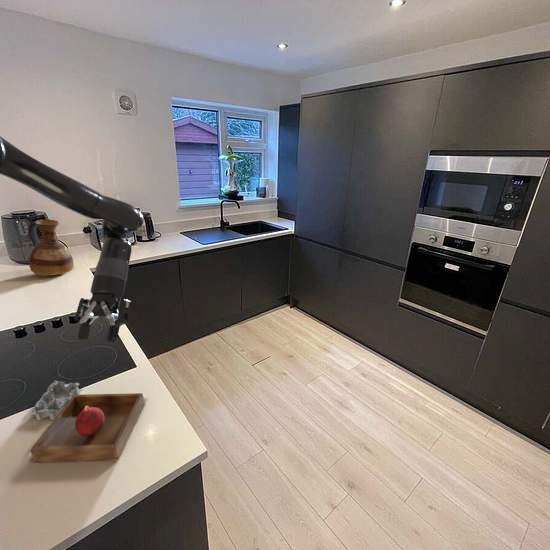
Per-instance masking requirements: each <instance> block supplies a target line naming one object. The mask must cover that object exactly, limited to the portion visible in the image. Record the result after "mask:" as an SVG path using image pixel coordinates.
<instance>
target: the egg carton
mask: <svg viewBox="0 0 550 550" xmlns="http://www.w3.org/2000/svg"><path fill="white" fill-rule="evenodd" d="M80 384H81V383H80V382H74V383H73V382H69V383H66V382H64V381H59V380H56V379H55V380H53V382H51V384H50V385H48V387H47V389H46V391H45V392H44V393H43V394H42V396H41V397H40V398H39V400H37V402H36V403H35V405H34V406H33V408H32V410H30V412H29V414H32V415H34V417H35V418H36V421H42V420H43V419H45V418H48V417H49V418H50V420H51V421H54V419H55V418H56V417H57V416H58V414H59V413H60V412H61V410H62V409H63V408H64V407H65V405H66V404H67V403H68V402H69V400H70V399H71V398H72V397H73V395H81V390H80V389H79V386H80Z"/></svg>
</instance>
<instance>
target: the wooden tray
mask: <svg viewBox="0 0 550 550" xmlns="http://www.w3.org/2000/svg"><path fill="white" fill-rule="evenodd" d="M144 399H145V398H144V394H143V393H142V392H141V393H140V392H139V393H100V394H99V393H93V394H92V393H91V394H90V393H89V394H87V393H86V394H79V395H73V397H72V398H71V399H70V400H69V402H68V403H67V404H66V405H65V407H64V408H63V409H62V410H61V412H60V413H59V414H58V416H57V417H56V418H55V419H54V420H52V422H51V423H50V425H48V426H47V428H46V430H44V432H43V433H42V434H41V436H40V437H39V438H38V439H37V441H36V442H35V443H34V445H33V446H32V447H31V448H30V450H29V451H30V454H31V456H32V459H33V461H34V463H35V464H42V463H46V464H47V463H70V462H71V463H75V462H101V461H102V462H103V461H106V462H107V461H119V460H120V458H121V456H122V454H123V452H124V449H125V448H126V446H127V443H128V441H129V439H130V437H131V434H132V432H133V431H134V429H135V426H136V425H137V422H138V420H139V418H140V416H141V414H142V412H143V409H144V407H145V404H146V403H145V400H144ZM85 406H89V407H96V408H99V409H100V410H101V411H102V412H103V414H104V418H105V419H104V424H103V426H102V428H101V429H100V430H99V431H98V432H97V433H95V434H93V435H91V436H83V435H81V434H79V433H78V432H77V430H76V428H75V421H76V419H77V417H78V415H79V414H80V413H81V412H82V411H83V410H84V408H85Z"/></svg>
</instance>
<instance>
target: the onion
mask: <svg viewBox="0 0 550 550" xmlns="http://www.w3.org/2000/svg"><path fill="white" fill-rule="evenodd" d="M104 419H105V418H104V414H103V412H102V411H101V410H100V409H99V408H96V407H89V406H85V408H84V410H83V411H82V412H81V413H80V414H79V415H78V417H77V419H76V421H75V428H76V430H77V432H78V433H79V434H81V435H83V436H91V435H93V434H95V433H97V432H98V431H99V430H100V429H101V428H102V426H103V424H104Z"/></svg>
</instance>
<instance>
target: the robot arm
mask: <svg viewBox="0 0 550 550" xmlns="http://www.w3.org/2000/svg"><path fill="white" fill-rule="evenodd" d="M0 175H2V176H4V177H7V178H9V179H10V180H13V181H16V182H18V183H19V184H21V185H24V186H26V187H28V188H29V189H31V190H34V191H35V192H37V193H38V194H40V195H42V196H44V197H45V198H47V199H49V200H50V201H52V202H54V203H56V204H57V205H59V206H62V207H64V208H66V209H67V210H69V211H71V212H74V213H76V214H78V215H80V216H83V217H84V218H87V219H90V220H99V221H100V220H102V229H101V231H102V246H101V250H100V254H99V258H98V261H97V264H96V267H95V270H94V274H93V279H92V282H91V286H90V294H91V295H92V296H91V298H90V299H89V298H84V297H80V299H79V302H78V305H77V309H76V312H75V315H74V319H73V320H74V321H75V322H78V323H79V329H78V333H77V338H78V340H81V341H88V339H89V336H90V330H91V327H92V324H93V322H94V321H95V320H97V319H99V317H105V318H106V319H108V321H109V323H110V325H109V327H108V331H107V335H106V342H110V343H115V342H116V340H118V336H119V332H120V328H121V326H123V325H128V323H129V321H130V315H131V307H132V301H131V300H128V299H125V298H122V297H124V295H125V289H126V285H127V281H128V275H129V265H130V261H131V255H132V251H133V246H132V244H131V243H130V241H128V240H127V234H129V233H133V232H137V231H139V230H140V229H141V228H142V227H143V225H144V217H143V214H142V213H141V212H140V210H139V209H137V208H136V207H135V206H133V205H132V204H130V203H127V202H125V201H122V200H119V199H116V198H114V197H110V196H107V195H104V194H103V193H100V192H98V191H97V190H95V189H93V188H91V187H89V186H88V185H85V184H84V183H82V182H80V181H78V180H76V179H74V178H72V177H71V176H68V175H67V174H65V173H62V172H61V171H59V170H56V169H54V168H52V167H51V166H49V165H47V164H45V163H43V162H41V161H39V160H37V159H36V158H34V157H32V156H31V155H29V154H27V153H26V152H25V151H23V150H21V149H20V148H18V147H16V146H15V145H14V144H12V143H11V142H9V141H7V140H6V139H5V138H3V137H2V136H1V135H0ZM121 298H122V299H121Z"/></svg>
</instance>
